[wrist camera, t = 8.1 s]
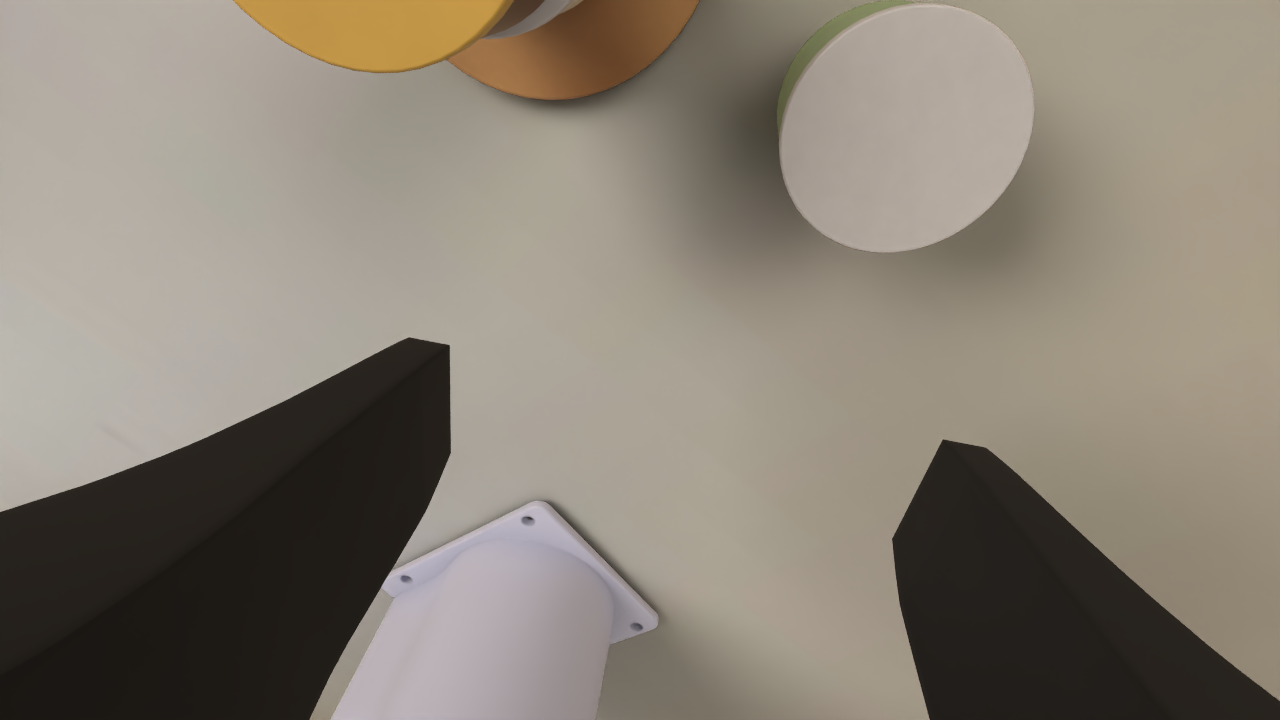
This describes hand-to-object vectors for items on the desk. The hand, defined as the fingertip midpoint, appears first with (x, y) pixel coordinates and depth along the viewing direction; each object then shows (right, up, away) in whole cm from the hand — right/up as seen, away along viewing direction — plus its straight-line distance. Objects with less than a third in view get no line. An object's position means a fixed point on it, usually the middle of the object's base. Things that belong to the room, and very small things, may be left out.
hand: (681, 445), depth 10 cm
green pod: (+5, +8, +7) cm, 11 cm away
